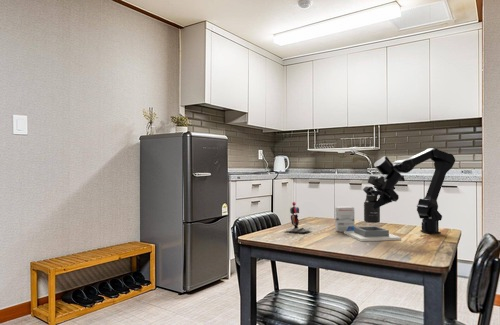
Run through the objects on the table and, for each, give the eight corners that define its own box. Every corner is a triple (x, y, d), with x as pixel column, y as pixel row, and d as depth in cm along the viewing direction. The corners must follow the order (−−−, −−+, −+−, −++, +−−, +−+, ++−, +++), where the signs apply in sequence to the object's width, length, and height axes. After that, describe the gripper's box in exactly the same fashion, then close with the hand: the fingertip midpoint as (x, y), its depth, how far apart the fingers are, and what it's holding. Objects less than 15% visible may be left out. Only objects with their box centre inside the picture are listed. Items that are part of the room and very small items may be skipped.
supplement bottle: (373, 223, 153) (372, 196, 153) (360, 221, 159) (360, 195, 159) (383, 222, 157) (382, 195, 157) (370, 220, 163) (370, 194, 163)
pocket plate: (379, 232, 169) (379, 224, 169) (400, 239, 151) (400, 231, 151) (343, 233, 166) (343, 225, 166) (361, 241, 148) (361, 232, 148)
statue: (284, 234, 170) (280, 203, 171) (292, 231, 178) (288, 201, 179) (305, 234, 164) (301, 202, 165) (312, 230, 172) (308, 200, 173)
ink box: (352, 230, 175) (352, 206, 175) (354, 231, 170) (354, 207, 170) (335, 229, 175) (334, 206, 176) (336, 231, 170) (336, 207, 171)
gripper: (366, 169, 168) (346, 193, 165) (392, 169, 150) (370, 196, 147) (380, 185, 170) (361, 209, 167) (408, 187, 152) (387, 214, 149)
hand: (369, 207), depth 158 cm, fingers closed on supplement bottle, 7 cm apart
